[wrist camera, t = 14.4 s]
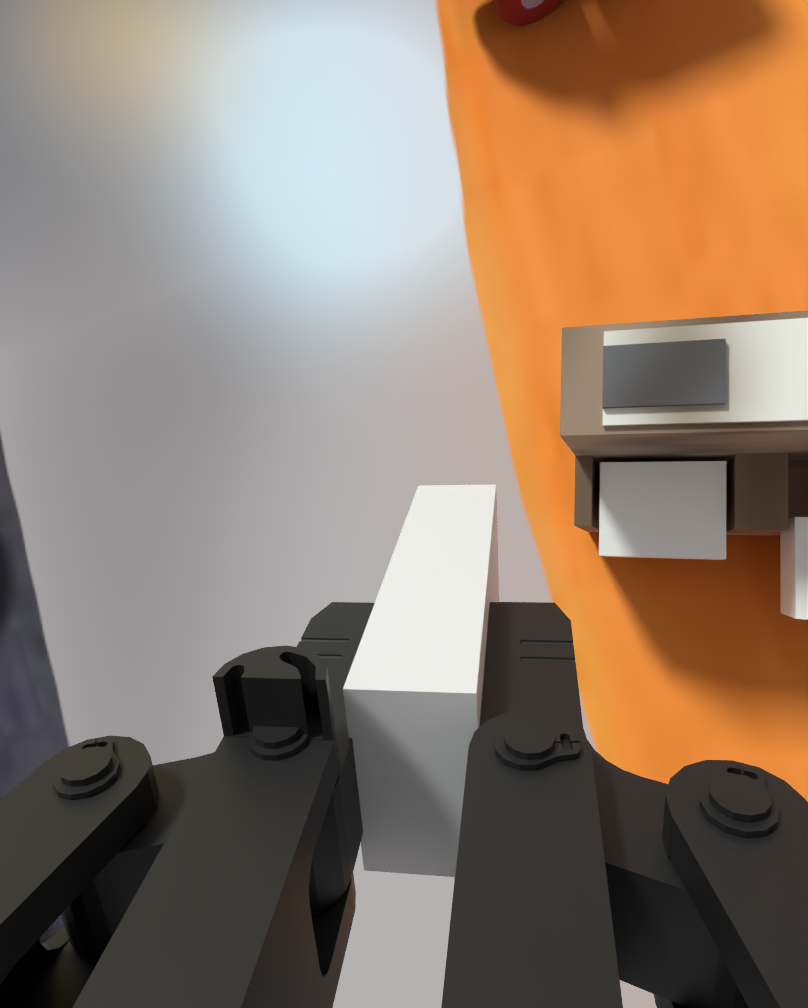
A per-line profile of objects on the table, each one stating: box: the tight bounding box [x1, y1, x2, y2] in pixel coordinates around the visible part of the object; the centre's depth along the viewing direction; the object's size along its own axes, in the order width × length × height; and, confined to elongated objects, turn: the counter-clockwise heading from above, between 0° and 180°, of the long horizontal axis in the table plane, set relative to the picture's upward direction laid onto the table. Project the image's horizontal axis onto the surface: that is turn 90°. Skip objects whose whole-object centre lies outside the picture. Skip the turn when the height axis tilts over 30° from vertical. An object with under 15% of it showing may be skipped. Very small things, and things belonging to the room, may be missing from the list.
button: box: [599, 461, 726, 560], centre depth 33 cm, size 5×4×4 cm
